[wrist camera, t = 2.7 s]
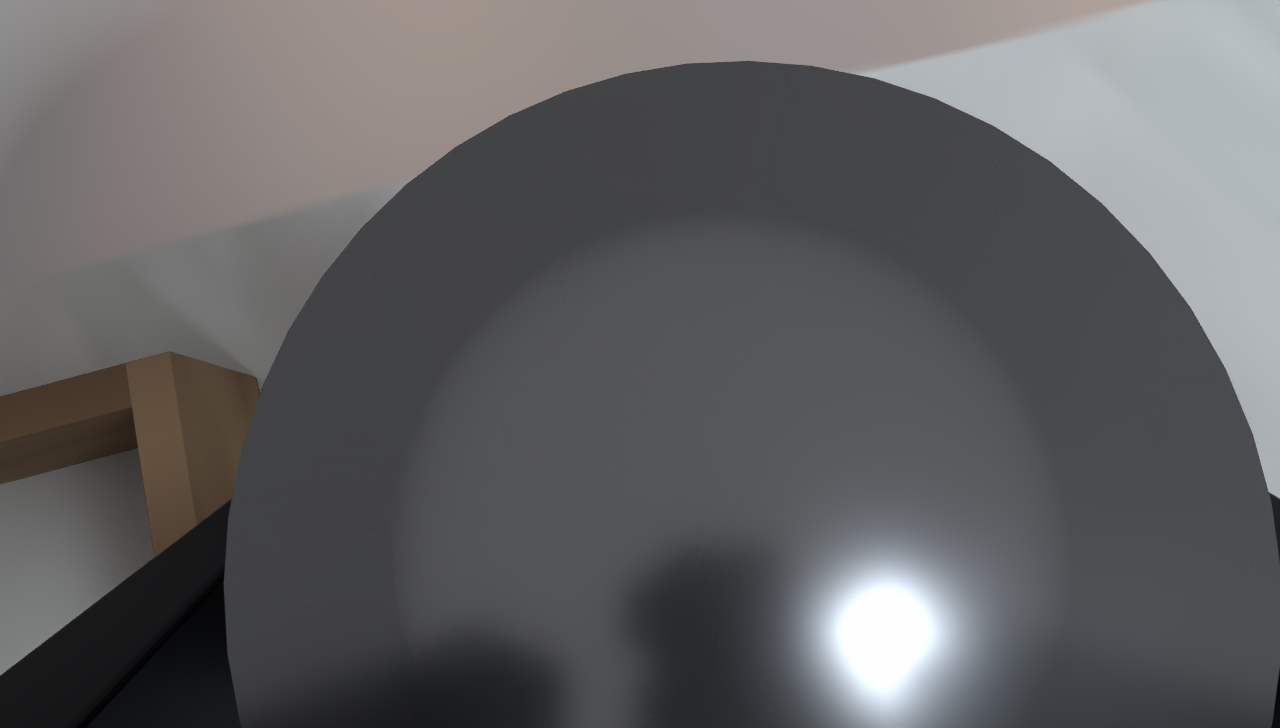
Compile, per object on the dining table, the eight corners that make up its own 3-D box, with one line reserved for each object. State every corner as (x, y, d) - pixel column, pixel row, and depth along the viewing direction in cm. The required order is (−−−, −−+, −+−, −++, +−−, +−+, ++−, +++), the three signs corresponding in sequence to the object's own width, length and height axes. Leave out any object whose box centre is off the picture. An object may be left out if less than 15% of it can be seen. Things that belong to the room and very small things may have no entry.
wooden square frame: (341, 860, 16) (262, 939, 13) (-140, 983, 16) (-325, 1089, 13) (255, 377, 18) (169, 352, 15) (-179, 493, 18) (-351, 490, 15)
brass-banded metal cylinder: (723, 733, 16) (818, 1473, 4) (502, 534, 17) (-4, 602, 5) (910, 502, 17) (1533, 485, 4) (686, 319, 17) (668, -133, 5)
